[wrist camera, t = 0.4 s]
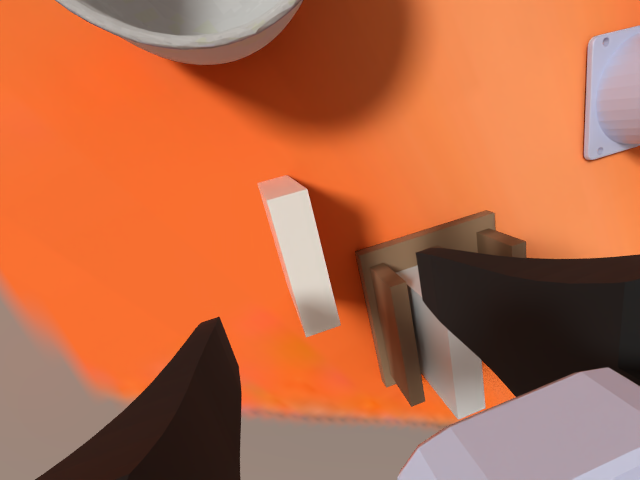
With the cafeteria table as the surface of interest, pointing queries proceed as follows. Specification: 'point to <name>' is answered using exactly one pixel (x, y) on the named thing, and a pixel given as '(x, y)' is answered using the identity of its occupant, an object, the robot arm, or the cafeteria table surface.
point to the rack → (392, 295)
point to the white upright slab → (300, 252)
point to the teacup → (190, 25)
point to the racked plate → (444, 355)
